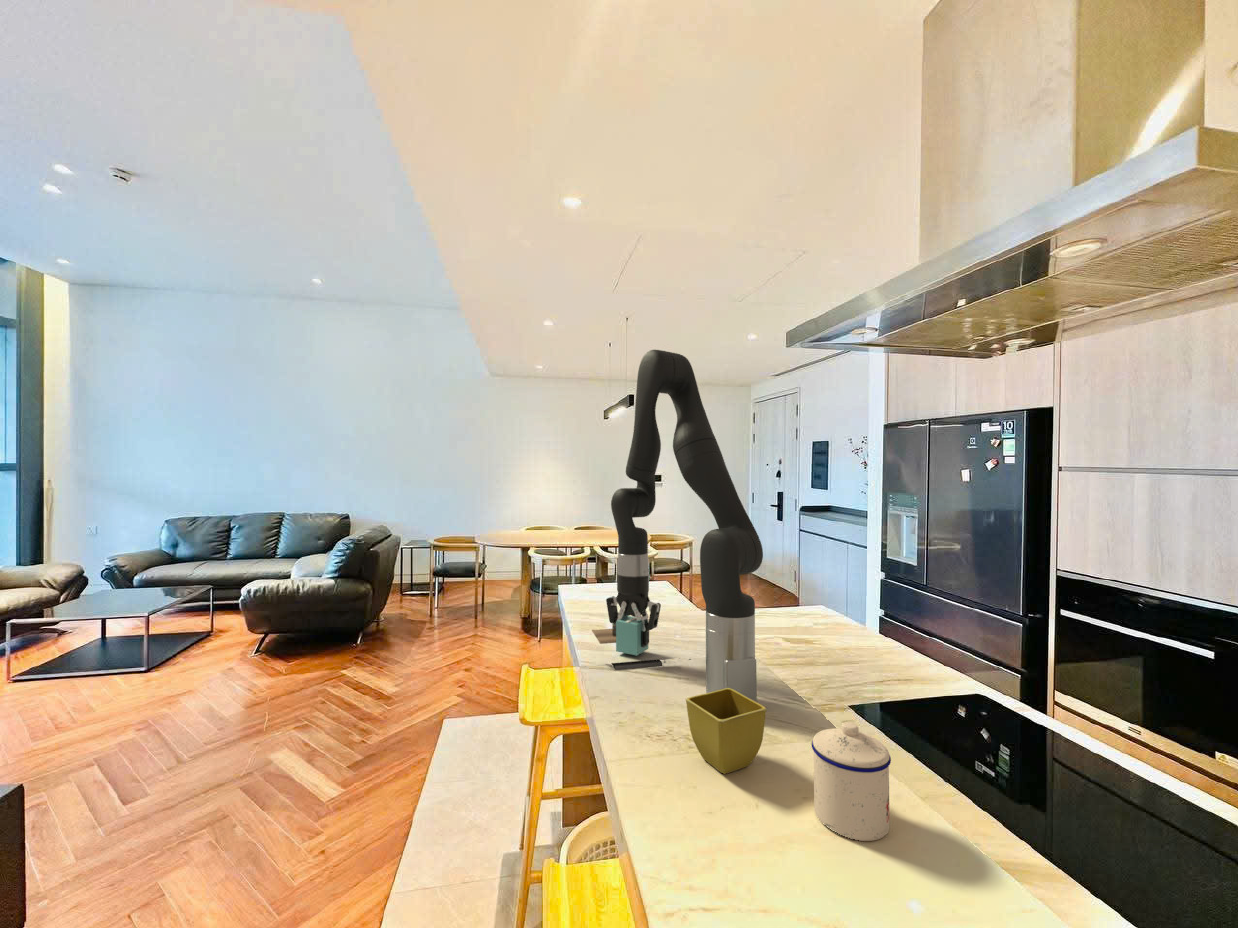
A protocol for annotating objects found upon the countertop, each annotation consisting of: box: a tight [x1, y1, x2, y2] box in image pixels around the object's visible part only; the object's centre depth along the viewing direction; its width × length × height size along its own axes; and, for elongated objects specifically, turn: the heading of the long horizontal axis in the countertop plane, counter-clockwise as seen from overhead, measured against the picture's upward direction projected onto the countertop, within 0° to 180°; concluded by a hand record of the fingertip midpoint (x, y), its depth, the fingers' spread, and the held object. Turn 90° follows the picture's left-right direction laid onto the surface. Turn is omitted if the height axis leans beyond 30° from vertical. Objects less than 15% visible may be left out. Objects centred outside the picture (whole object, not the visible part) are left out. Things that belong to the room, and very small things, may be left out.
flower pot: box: [685, 688, 767, 775], centre depth 78 cm, size 9×9×9 cm
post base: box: [591, 612, 619, 645], centre depth 136 cm, size 12×12×7 cm
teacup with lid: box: [811, 721, 892, 842], centre depth 66 cm, size 12×9×12 cm
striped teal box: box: [615, 615, 650, 656], centre depth 122 cm, size 6×6×7 cm
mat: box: [610, 658, 663, 671], centre depth 122 cm, size 11×11×1 cm
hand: (632, 643), depth 122 cm, fingers closed on striped teal box, 5 cm apart
